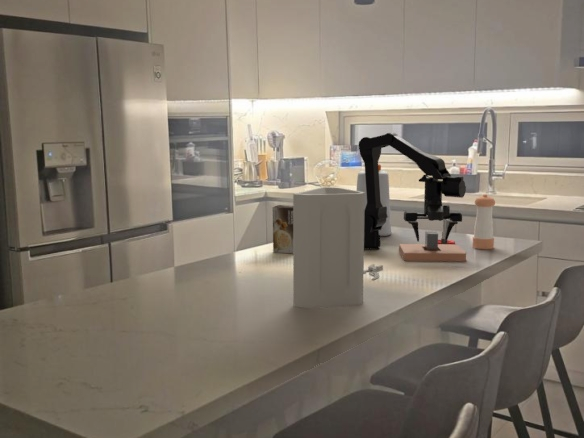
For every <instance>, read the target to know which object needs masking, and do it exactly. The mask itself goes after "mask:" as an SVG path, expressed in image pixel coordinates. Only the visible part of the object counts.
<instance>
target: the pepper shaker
mask: <svg viewBox="0 0 584 438" xmlns="http://www.w3.org/2000/svg"><path fill="white" fill-rule="evenodd" d="M474 204H475V206H476V215H475V222H474V227H473V228H474V229H473V237H472V248H474V249H478V250H493V249H494V247H495V242H494V241H495V238H494V223H493V222H494V221H493V211H494V209H493V207H494V206H495V204H496V200H495V199H494V198H493V197H491V196H488V194H483V195H482V196H478V197H476V199H475V200H474Z"/></svg>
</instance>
